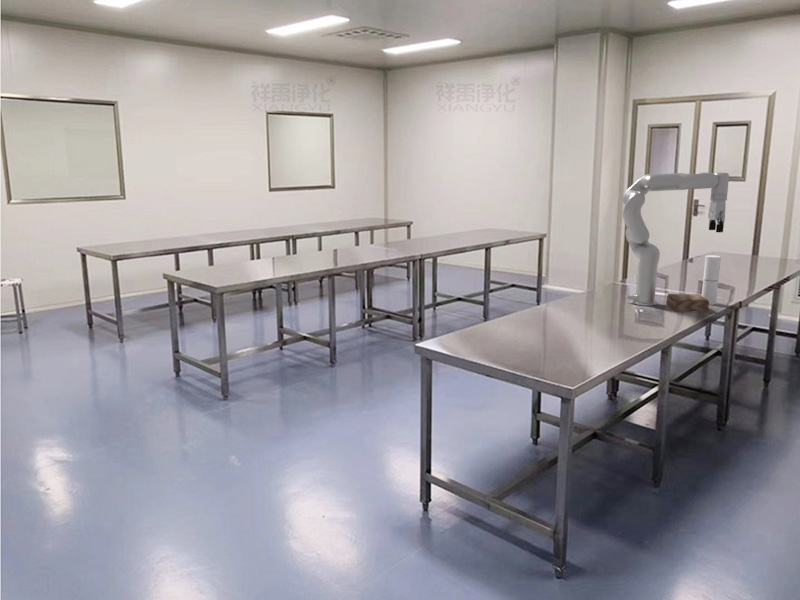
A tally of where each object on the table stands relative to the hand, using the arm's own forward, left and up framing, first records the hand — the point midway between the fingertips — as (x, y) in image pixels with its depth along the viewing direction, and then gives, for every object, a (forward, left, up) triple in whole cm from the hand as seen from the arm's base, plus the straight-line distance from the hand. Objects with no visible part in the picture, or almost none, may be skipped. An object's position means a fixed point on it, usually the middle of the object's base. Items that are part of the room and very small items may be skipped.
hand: (715, 231), depth 324 cm
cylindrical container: (0, 0, -38) cm, 38 cm away
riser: (-15, -12, -38) cm, 43 cm away
